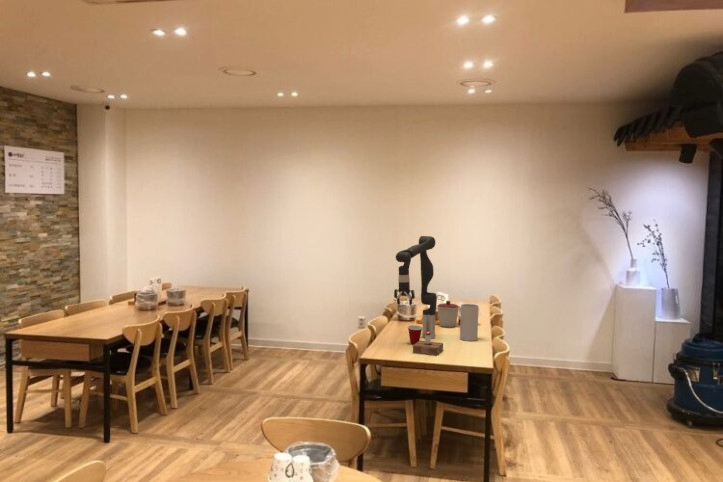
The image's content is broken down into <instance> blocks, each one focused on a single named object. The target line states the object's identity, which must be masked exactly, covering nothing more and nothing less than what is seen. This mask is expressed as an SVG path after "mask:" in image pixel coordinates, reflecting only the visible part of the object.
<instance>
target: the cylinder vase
mask: <svg viewBox="0 0 723 482" xmlns="http://www.w3.org/2000/svg"><path fill="white" fill-rule="evenodd" d="M459 323H460V324H459V325H460V326H459V327H460V328H459V339H460V340H461V341H465V342H475V341H478V331H479V326H478V325H479V305H478V304H471V303H463V304H461V305H460V322H459Z"/></svg>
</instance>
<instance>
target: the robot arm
mask: <svg viewBox="0 0 723 482" xmlns="http://www.w3.org/2000/svg"><path fill="white" fill-rule="evenodd" d="M435 246H436V238H435V237H433V236H430V235H429V236H428V235H420V236H419V239H418V243H417V244H414V245H412V246H409V247H408V248H407V249H403V250H400V251H398V252H397V253H396V254H395V260H396V262H399V263H403V265H400V266H398V279H397V280H398V288H395V289H394V292H393V294H394V295H393V298H394V299H396V304H397V305H401V297H407V299H409V301H408V305H409V306H412V305H413V300H414V299H415V297H416V296H415V290H414V289H410V288H411V287H410V279H411V278H410V264H411V260H412V259H413V258H414V257H416V256H418V255H419V258H420V282H421V286H420V288H421V289H420V302H421V304H422V305H425V306H429V308H428V307H427V308H425V309H423V311H422V327H423V329H422V331H421V334H422V335H421V337H422V338H423V339H425V331H431V338H430V340H432V339H435V337H436V313H437V304H438V303H437V302H438V300H437V299H438V296H437V294H436V293H435V292H429V291H428V287H429V284H431V283H430V282H431V281H432V279H433V277H434V275H435V274H434V272H435V271H434V265H433V263H432V261H431V259H430V257H429V255H428V252H427V251H429V250H432V249H434V248H435Z"/></svg>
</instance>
